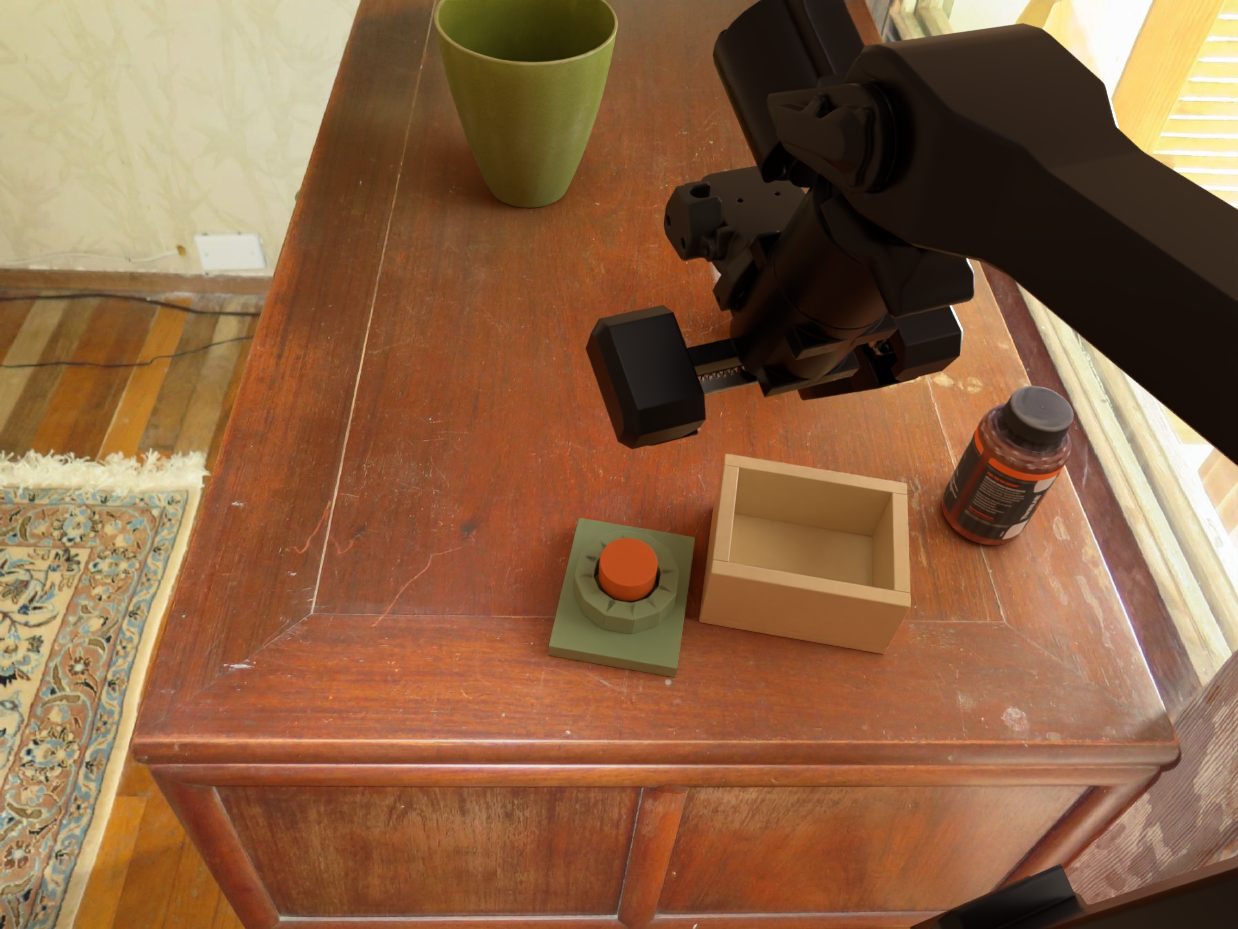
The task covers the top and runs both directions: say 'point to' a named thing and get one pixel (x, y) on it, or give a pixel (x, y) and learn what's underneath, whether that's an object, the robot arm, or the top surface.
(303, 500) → the top surface
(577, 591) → the control block
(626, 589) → the button
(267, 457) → the top surface
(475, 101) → the flower pot
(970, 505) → the supplement bottle
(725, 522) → the shallow tan tray box
